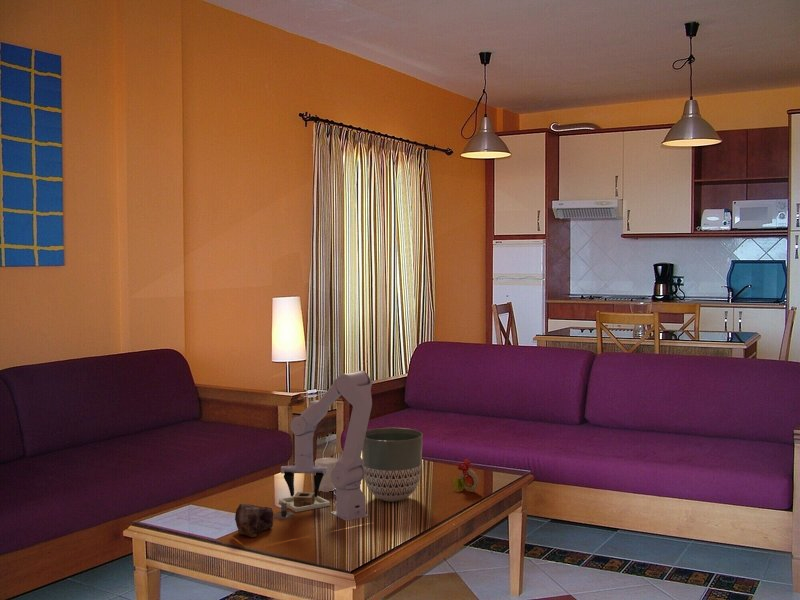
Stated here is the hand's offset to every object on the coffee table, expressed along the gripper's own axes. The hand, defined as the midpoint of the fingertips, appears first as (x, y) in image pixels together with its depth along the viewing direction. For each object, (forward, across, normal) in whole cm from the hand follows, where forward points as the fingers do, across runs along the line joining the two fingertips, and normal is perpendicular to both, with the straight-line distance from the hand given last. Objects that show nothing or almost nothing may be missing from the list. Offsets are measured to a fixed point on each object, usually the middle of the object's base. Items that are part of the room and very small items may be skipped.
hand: (304, 495), depth 265 cm
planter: (+3, +27, +8) cm, 29 cm away
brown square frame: (+3, 0, 0) cm, 3 cm away
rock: (+3, -10, -27) cm, 29 cm away
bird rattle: (+3, +51, +20) cm, 55 cm away
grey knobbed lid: (+3, -4, -12) cm, 13 cm away
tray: (+3, 0, 0) cm, 3 cm away
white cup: (+3, +4, +18) cm, 19 cm away
